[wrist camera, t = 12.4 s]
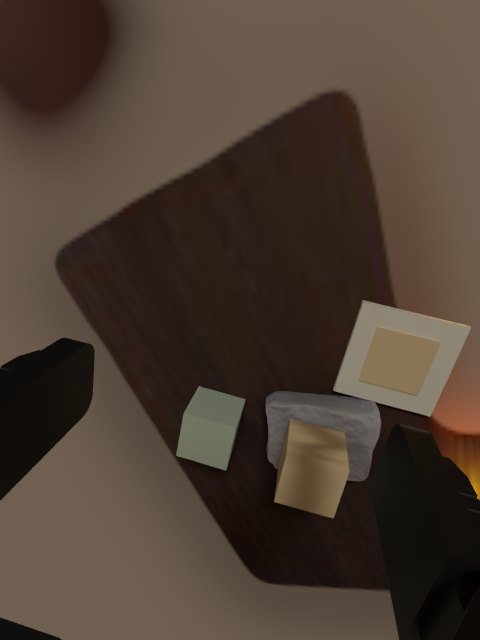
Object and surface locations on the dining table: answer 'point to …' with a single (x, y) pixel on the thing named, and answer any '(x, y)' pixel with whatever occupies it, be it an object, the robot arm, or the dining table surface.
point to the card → (399, 357)
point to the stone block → (326, 424)
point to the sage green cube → (210, 427)
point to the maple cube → (312, 468)
